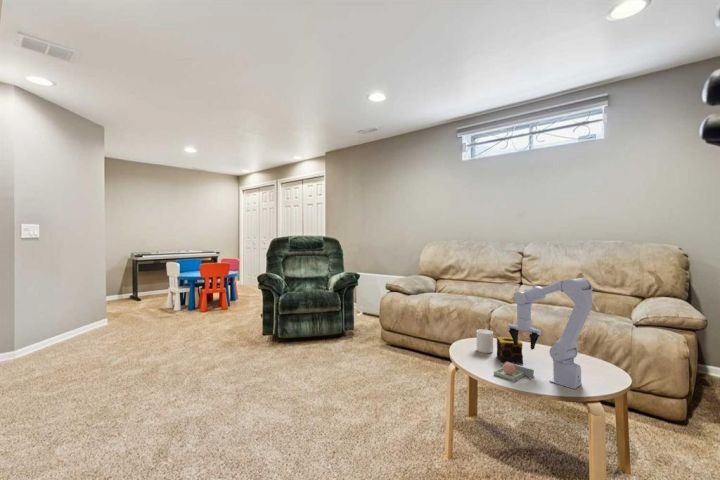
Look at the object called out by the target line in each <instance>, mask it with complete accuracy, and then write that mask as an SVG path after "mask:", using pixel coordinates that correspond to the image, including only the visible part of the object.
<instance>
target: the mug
mask: <svg viewBox="0 0 720 480" xmlns="http://www.w3.org/2000/svg"><path fill="white" fill-rule="evenodd" d="M476 350H477V351H478V352H479V353H482V354H491V353H493V352H494V331H492V330H490V329H485V328H484V329H483V328H482V329H476Z"/></svg>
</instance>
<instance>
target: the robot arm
mask: <svg viewBox="0 0 720 480" xmlns="http://www.w3.org/2000/svg"><path fill="white" fill-rule="evenodd" d="M593 290H594V287H593V285H592V284H591V282H590V281H589V280H588V279H587V278H585V277H579V278H572V279H571V278H567V279H565V280H564V279H563V280H558V281H556V282H554V283H551V284H547V285H546V286H540V285H532V287H531V288H529V289H528V288H526V289H524V291H518V292H516V293H515V294H514V296H513V297H514V298H513V299H514V302H515V303H516V315H517V316H516V324H513V323H509V324H507V329H509V330H508V332H509V335H510V337H512V339H513V342H514V345H515V346H516V345H518V340H519V331H520V332H525V333H529V339H530V350H532V351H533V350H535V347H536V343H537V341H538V339H539V337H540V336H541V335H542V330H541V329H538V328H535V327H532V311H531V310H532V304H533V303H535V302H537V301H540V300H544V299H546V296H547V295H549V294H553V293H557V292H563V293H564V294H565V295H566V296H567V297H568V298H569V299H570V300H571V301H572V302H573V304H574V306H573V309H572V310H571V313H570V315H569V318H568V320H567V323H566V325H565V326H564V327H565V328H564V329H563V332H562V334H561V336H560V338H559V339H557V340H556V341H555V342H554V344H553V345H552V346H551V347H550V348H549V356H550V357H551V359H552V361H553V363H552V365H553V370H552V371H553V374H552V375H553V378H551V379H550V380H549V382H550V383H554V384H557V385H560V386H563V387H566V388H570V389H573V390H576V389H577V388H578V387H579V386H581V385H583V384H582V383H583V382H582V367H581V365H580V364H578V363H576V362H574V361H575V359H576V358H577V356H578V348H579V345H578V343H577V341H578V339H579V336H581V333H582V330H583V328H584V326H585V323H586V321H587V319H588V317H589V316H590V315H589V314H590V312H591V310H592V308H593V304H594V303H593V302H594V301H593V296H592V295H593V294H592V292H593Z"/></svg>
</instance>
